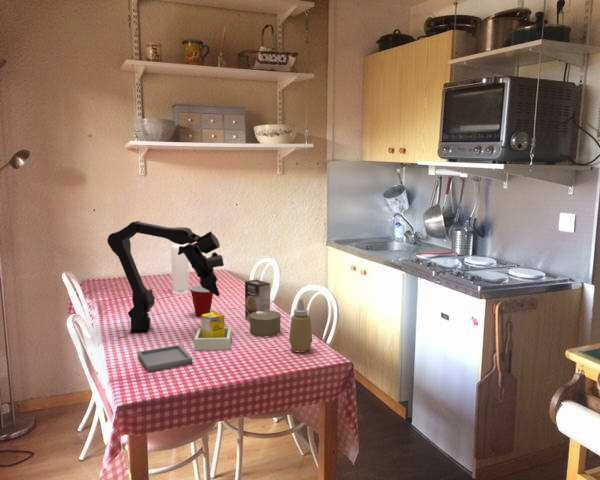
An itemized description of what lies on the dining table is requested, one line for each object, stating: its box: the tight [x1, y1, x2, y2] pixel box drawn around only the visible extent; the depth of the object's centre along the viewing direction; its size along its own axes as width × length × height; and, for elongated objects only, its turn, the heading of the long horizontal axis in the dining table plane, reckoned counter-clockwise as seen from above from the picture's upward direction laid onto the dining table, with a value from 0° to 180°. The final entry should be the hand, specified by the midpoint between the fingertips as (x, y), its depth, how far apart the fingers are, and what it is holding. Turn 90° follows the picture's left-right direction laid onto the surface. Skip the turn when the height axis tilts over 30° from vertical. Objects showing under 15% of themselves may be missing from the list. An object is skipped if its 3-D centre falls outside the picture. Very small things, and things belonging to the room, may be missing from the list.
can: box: [249, 310, 282, 338], centre depth 198 cm, size 12×12×7 cm
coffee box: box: [244, 278, 271, 322], centre depth 212 cm, size 9×6×16 cm
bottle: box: [170, 242, 190, 296], centre depth 254 cm, size 8×8×28 cm
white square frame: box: [194, 327, 232, 351], centre depth 185 cm, size 12×12×4 cm
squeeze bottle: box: [288, 298, 313, 353], centre depth 178 cm, size 8×8×18 cm
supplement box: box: [201, 311, 226, 338], centre depth 184 cm, size 6×6×11 cm
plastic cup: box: [189, 284, 214, 318], centre depth 219 cm, size 11×11×12 cm
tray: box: [137, 344, 193, 373], centre depth 169 cm, size 14×14×2 cm
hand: (217, 291), depth 199 cm, fingers open, 9 cm apart
